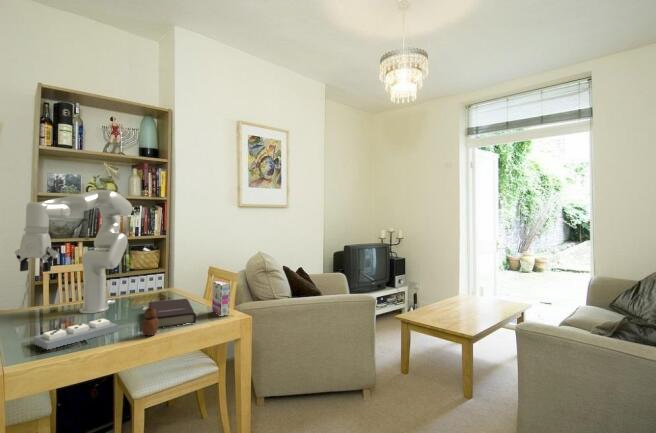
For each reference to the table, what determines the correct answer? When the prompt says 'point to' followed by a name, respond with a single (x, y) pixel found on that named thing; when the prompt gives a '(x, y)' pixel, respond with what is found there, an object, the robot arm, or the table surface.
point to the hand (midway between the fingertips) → (35, 271)
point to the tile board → (75, 336)
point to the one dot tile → (99, 323)
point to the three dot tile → (54, 334)
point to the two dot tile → (78, 328)
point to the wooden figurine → (150, 321)
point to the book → (174, 312)
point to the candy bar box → (220, 297)
